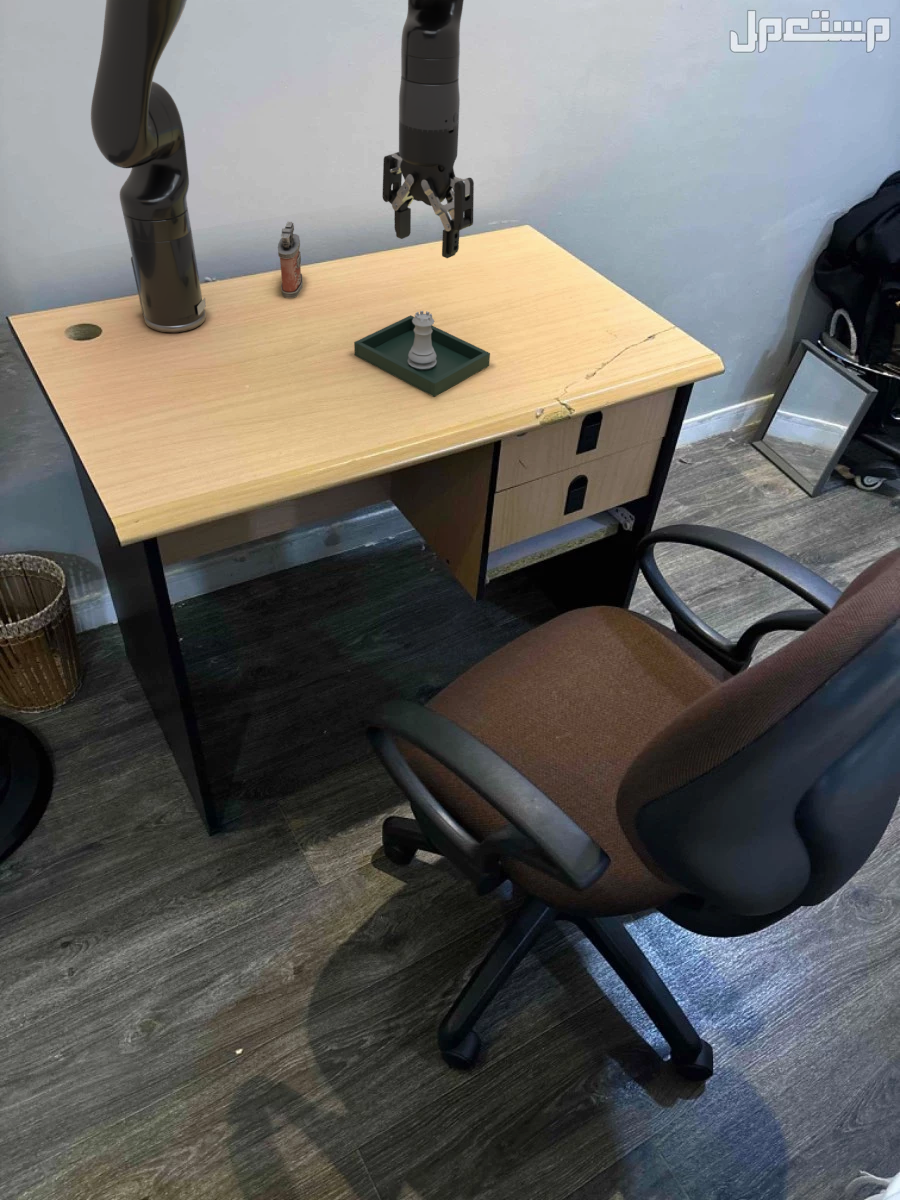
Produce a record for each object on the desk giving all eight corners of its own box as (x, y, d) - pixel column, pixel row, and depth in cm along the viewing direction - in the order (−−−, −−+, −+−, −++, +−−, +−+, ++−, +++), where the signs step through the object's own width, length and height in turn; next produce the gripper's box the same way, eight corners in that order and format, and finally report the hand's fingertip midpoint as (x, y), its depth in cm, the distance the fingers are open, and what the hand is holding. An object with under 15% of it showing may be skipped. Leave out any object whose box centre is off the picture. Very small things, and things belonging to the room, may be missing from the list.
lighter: (299, 298, 147) (294, 238, 140) (278, 297, 147) (273, 237, 140) (305, 277, 153) (301, 219, 145) (285, 276, 152) (280, 217, 145)
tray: (354, 355, 135) (353, 342, 133) (410, 327, 142) (410, 314, 140) (434, 397, 127) (434, 383, 126) (489, 365, 134) (490, 353, 133)
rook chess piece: (442, 364, 133) (445, 315, 128) (422, 374, 131) (423, 325, 125) (421, 353, 135) (423, 304, 130) (401, 363, 133) (401, 314, 127)
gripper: (367, 110, 110) (370, 238, 122) (452, 138, 104) (446, 271, 115) (407, 98, 114) (406, 223, 126) (491, 125, 108) (482, 254, 120)
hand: (425, 246), depth 121 cm, fingers open, 8 cm apart
